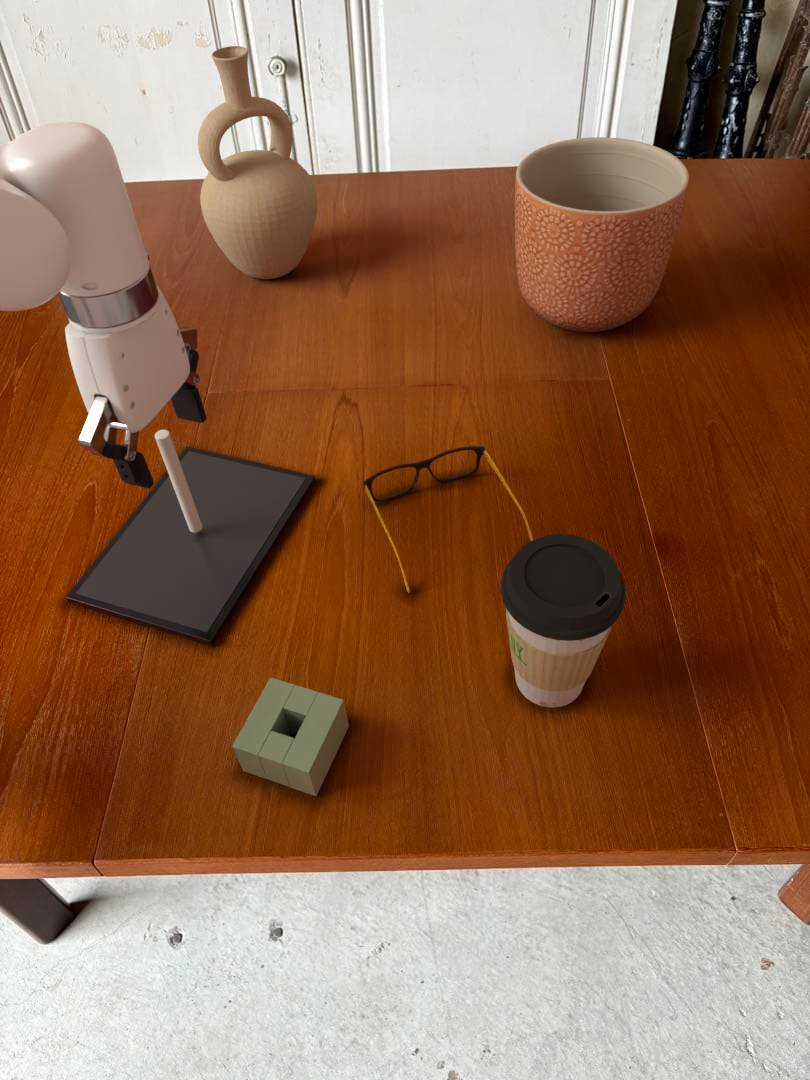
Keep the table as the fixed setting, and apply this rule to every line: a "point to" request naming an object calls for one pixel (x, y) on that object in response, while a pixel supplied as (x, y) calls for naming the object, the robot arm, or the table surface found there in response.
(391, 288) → the table surface
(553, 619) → the coffee cup
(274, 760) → the stylus holder
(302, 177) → the vase
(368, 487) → the eyeglasses
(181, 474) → the stylus
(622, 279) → the planter
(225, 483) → the tablet
